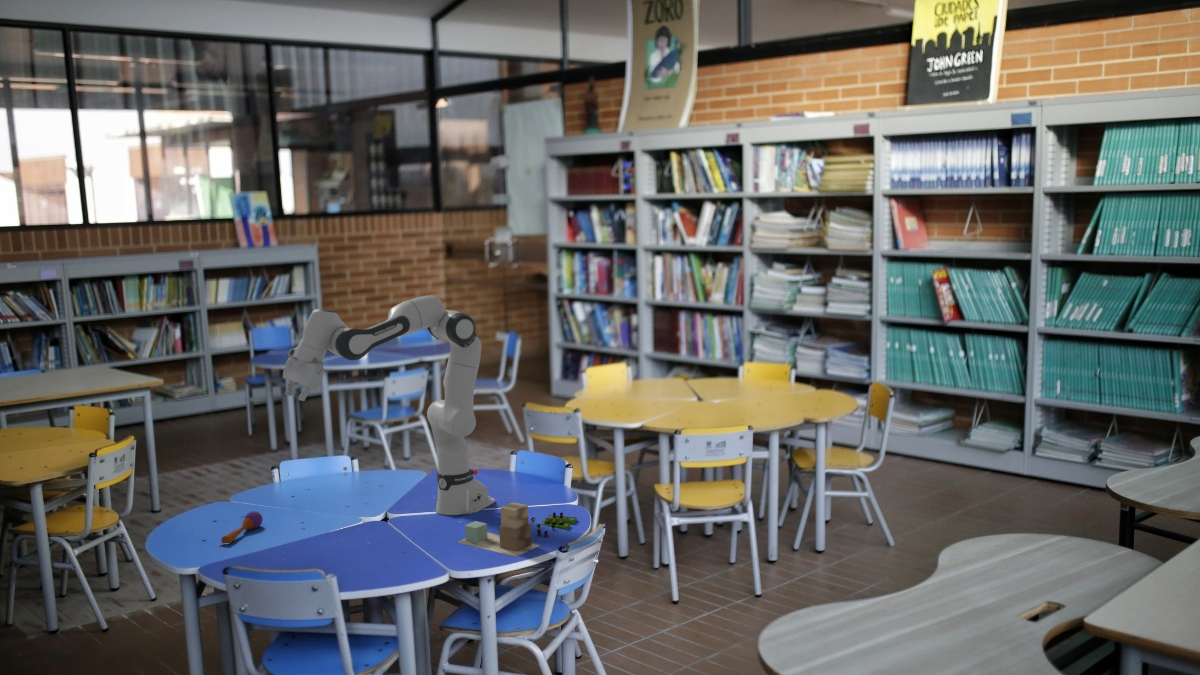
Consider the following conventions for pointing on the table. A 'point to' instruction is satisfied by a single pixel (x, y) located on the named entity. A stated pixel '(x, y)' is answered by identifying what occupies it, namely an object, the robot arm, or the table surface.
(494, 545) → the birch board
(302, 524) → the table surface
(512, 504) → the oak middle block
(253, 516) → the orange and purple maraca
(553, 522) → the toy garden set
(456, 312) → the robot arm
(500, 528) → the walnut base block
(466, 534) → the sage cube
